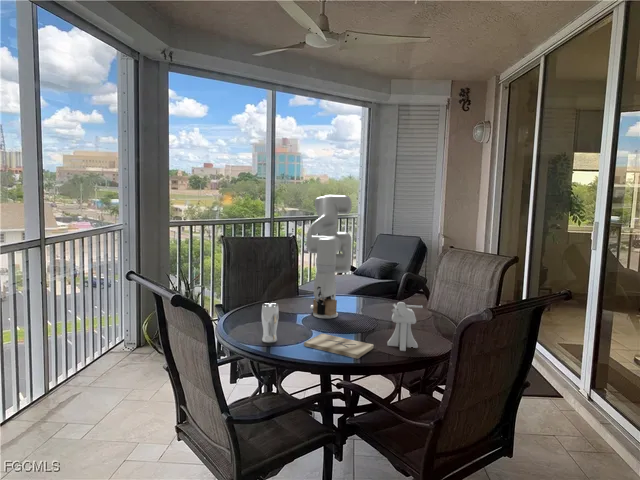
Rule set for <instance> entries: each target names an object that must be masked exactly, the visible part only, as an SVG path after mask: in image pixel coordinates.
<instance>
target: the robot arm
mask: <svg viewBox="0 0 640 480" xmlns="http://www.w3.org/2000/svg"><path fill="white" fill-rule="evenodd" d="M352 205H353V204H352V199H351V197H350V196H348V195H343V194H326V195H323V196H318V197H316V198H315V199H314V209H315V212H316V215H317V217H318V219H315V220H314V222H313V223H311V225H310V226H309V227H308V230H307V233H306V240H305V241H306V243H305V245H306V250H307V252H308V253H310V254H316V258H315V267H316V273H315V276H314V284H313V300H314V299H315V300H316V302H317V314H320V315H325V305H324V302H325V298H327V299H333V300H336V292H337V290H336V289H337V281H336V274H346V273H350V272H351V267H352V236H351V234H350V233H349V232H346V231H338V229H337V228H338V222H339V221H338V219H339V217H338V216H339V215H350V213H351V211H352ZM339 252H341V253H339ZM320 298H321V299H322V300H321V299H320ZM309 310H312V311H313V304H310V308H309ZM320 315H315V314H313V313H312V316H313V317H314V318H319V319H335V318H337V317H338V316H339V313H338V312H337V311H336V315H334V316H332V317H326V316H320Z"/></svg>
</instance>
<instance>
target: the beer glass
mask: <svg viewBox="0 0 640 480" xmlns="http://www.w3.org/2000/svg"><path fill="white" fill-rule="evenodd" d="M279 314H280V312H279V303H275V302H268V303H267V302H266V303H262V306H261V324H262V330H263V331H262V332H263V333H262V334H263V335H262V338H261V340H262V342H263V343H267V344H272V343H273V344H274V343H276V342H277V341H278V338H277V328H278V323H279V316H280V315H279Z"/></svg>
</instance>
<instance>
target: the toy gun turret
mask: <svg viewBox="0 0 640 480" xmlns="http://www.w3.org/2000/svg"><path fill="white" fill-rule="evenodd" d="M392 307H394V308H392V309H391V310H390V311H391V312H392V316H391V321H392V322H393V323H395V329H394V330H393V333H392V334H391V336H390V338H389V340H387V342H386V343H387V345H386V346H388V347H389V346H390V347H399V351H401V352H406V350H407V348H411V347H413V348H415V349H418V348H419V345H418V344H419V343H418V342H417V341H416V340H415V337H414V336H413V333H412V328H411V327H412V325H415V324H416V323H417V317H416V315H415V311H413V309H412V308H420V309H423V307H424V306H423V305H414V304H413V305H412V304H406V303H405V302H403V301H399V302H397V304H396V303H395V302H394V303H392Z"/></svg>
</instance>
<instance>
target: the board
mask: <svg viewBox="0 0 640 480" xmlns="http://www.w3.org/2000/svg"><path fill="white" fill-rule="evenodd" d="M303 347H308V348H311V349H316V350H319V351H325V352H329V353H333V354H337V355H339V356H340V355H341V356H345V357H348V358H352V359H359V358H361V357H362V356H364V355H366V354H367V353H369V352H370V351H372V350H373V349H374V348H375V347H374V344H373V343H367V342H364V341H359V340H354V339H349V338H344V337H340V336H336V335H330V334H327V333H320V334H318V335H316V336H314V337H312V338H310V339H308V340H306V341H304V342H303Z"/></svg>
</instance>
